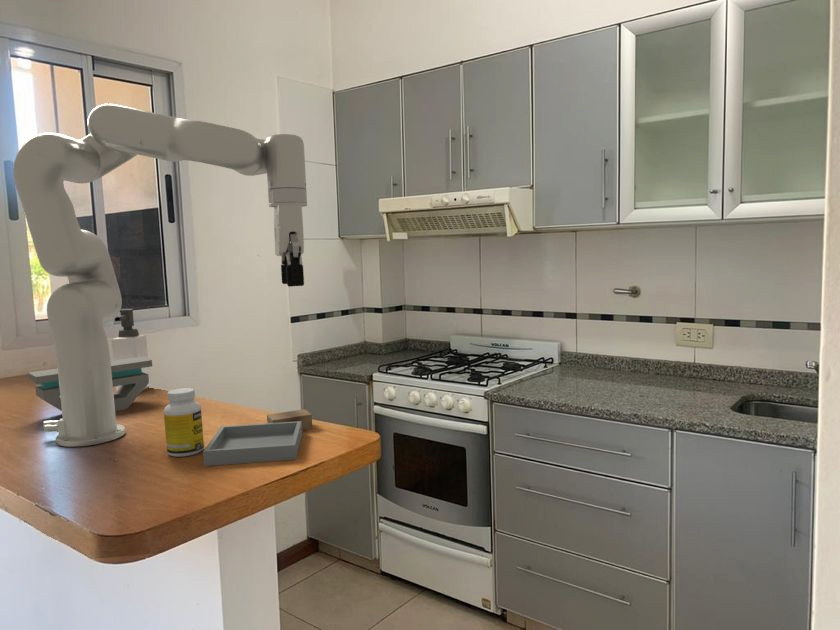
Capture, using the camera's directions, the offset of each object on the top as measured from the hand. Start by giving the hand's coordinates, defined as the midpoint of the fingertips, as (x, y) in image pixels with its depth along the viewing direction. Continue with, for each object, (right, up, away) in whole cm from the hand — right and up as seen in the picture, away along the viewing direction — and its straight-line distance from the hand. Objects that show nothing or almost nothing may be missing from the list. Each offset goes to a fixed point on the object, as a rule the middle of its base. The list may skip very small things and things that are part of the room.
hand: (292, 284), depth 130 cm
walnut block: (-1, -29, +2) cm, 30 cm away
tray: (-5, -31, -11) cm, 33 cm away
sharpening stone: (-52, -29, +24) cm, 64 cm away
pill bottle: (-18, -32, -11) cm, 38 cm away
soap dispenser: (-53, -27, +45) cm, 75 cm away
